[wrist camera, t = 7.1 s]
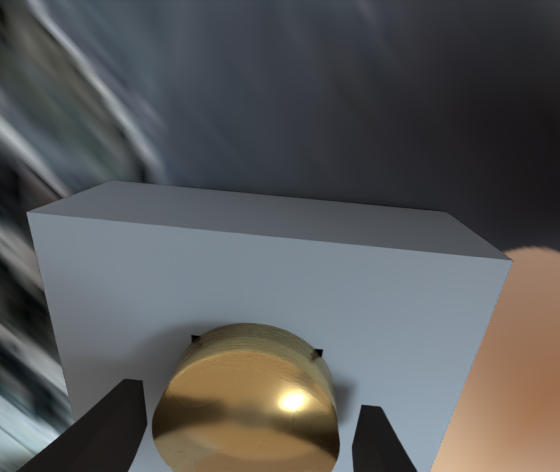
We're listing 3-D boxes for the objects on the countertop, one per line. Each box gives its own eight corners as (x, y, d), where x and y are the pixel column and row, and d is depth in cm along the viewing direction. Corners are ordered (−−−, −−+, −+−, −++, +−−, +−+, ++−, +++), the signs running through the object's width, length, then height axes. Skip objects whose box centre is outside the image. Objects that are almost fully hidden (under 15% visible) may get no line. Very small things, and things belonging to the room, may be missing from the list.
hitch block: (446, 211, 13) (513, 260, 9) (386, 419, 18) (412, 516, 13) (111, 180, 14) (26, 212, 9) (136, 390, 18) (87, 475, 14)
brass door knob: (332, 271, 14) (352, 379, 8) (320, 370, 16) (329, 510, 10) (204, 261, 14) (141, 361, 9) (209, 360, 16) (160, 492, 11)
